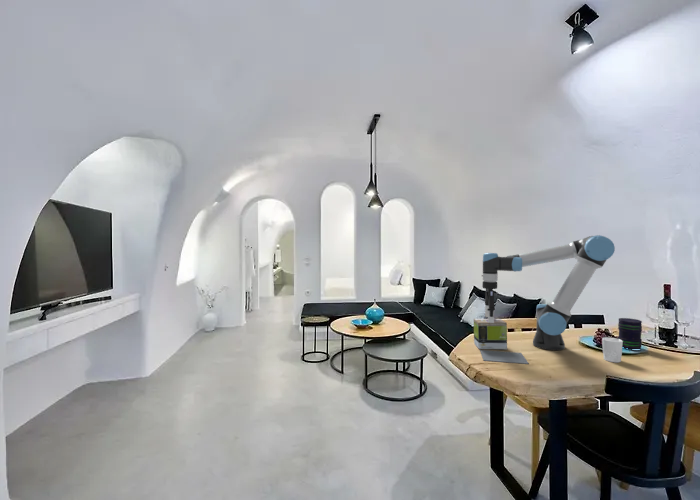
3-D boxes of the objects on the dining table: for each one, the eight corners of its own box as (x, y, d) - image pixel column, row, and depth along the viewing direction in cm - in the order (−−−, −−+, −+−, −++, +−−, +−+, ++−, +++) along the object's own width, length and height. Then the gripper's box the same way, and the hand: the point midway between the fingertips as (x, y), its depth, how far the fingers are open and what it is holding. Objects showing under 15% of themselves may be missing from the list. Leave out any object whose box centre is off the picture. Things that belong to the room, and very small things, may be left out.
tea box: (501, 344, 193) (501, 318, 193) (507, 350, 183) (507, 322, 183) (473, 343, 195) (473, 317, 194) (478, 349, 185) (478, 322, 184)
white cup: (617, 364, 161) (617, 342, 161) (598, 359, 168) (598, 338, 168) (625, 361, 165) (626, 340, 164) (607, 356, 172) (607, 336, 171)
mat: (521, 353, 178) (521, 352, 178) (528, 364, 162) (528, 363, 162) (479, 350, 183) (479, 349, 183) (483, 360, 167) (483, 360, 167)
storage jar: (638, 346, 187) (639, 319, 187) (644, 351, 178) (644, 323, 178) (616, 344, 192) (616, 317, 191) (620, 349, 183) (620, 321, 182)
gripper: (480, 278, 201) (479, 314, 202) (485, 283, 177) (484, 324, 177) (493, 278, 199) (493, 315, 200) (501, 284, 175) (500, 325, 176)
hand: (489, 319), depth 189 cm, fingers open, 13 cm apart
